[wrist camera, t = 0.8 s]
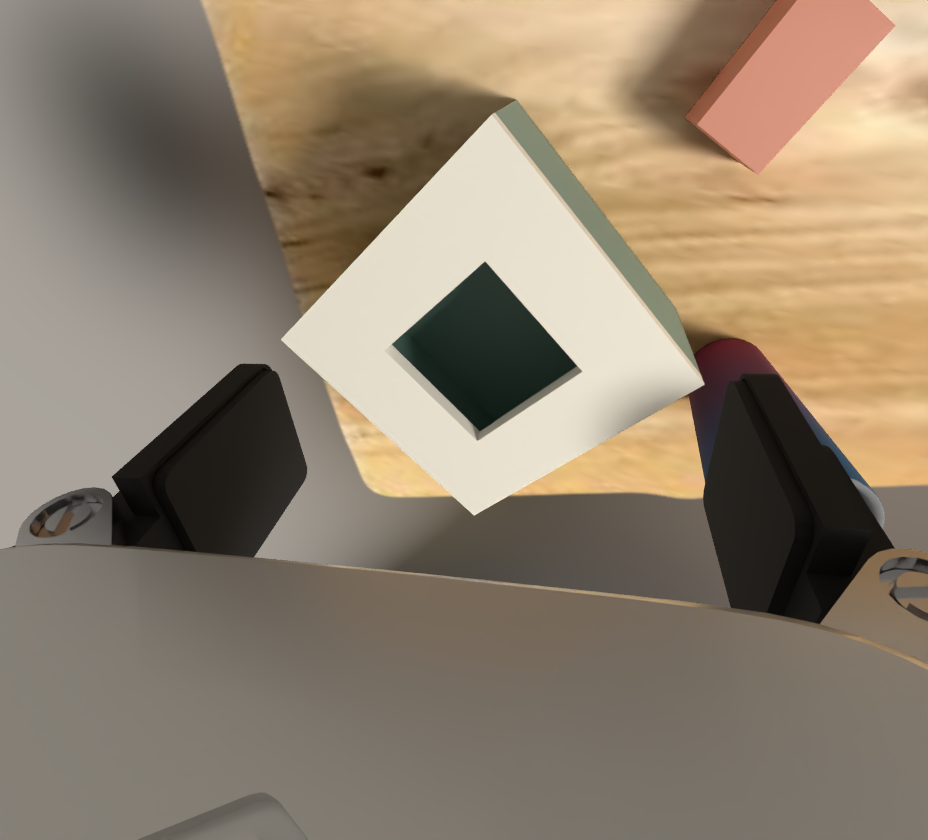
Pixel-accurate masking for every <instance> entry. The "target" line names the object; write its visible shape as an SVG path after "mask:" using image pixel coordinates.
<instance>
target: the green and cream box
mask: <svg viewBox="0 0 928 840" xmlns="http://www.w3.org/2000/svg"><path fill="white" fill-rule="evenodd" d="M281 340H282V341H283V342H284V343H285V344H286V345H287V346H288V347H289V348H291V350H293V351H294V352H295V353H296V354H297V355H298V356H299V357H300V358H301V359H303V360H304V361H305V362H306V363H307V364H308V365H309V366H310V367H311V368H312V369H314V370H315V371H316V372H317V373H318V374H319V375H320V376H321V377H322V378H323V379H324V380H326V381H327V382H328V383H329V384H330V385H331V386H332V387H333V388H334V389H335V390H337V391H338V392H339V393H340V394H341V395H342V396H343V397H344V398H345V399H346V400H348V401H349V402H350V403H351V404H352V405H353V406H354V407H355V408H356V409H358V410H359V411H360V412H361V413H362V414H363V415H364V416H365V417H366V418H367V419H369V420H370V421H371V422H372V423H373V424H374V425H375V426H376V427H377V428H378V429H380V430H381V431H382V432H383V433H384V434H385V435H386V436H387V437H388V438H389V439H391V440H392V441H393V442H394V443H395V444H396V445H397V446H398V447H399V448H400V449H402V450H403V451H404V452H405V453H406V454H407V455H408V456H409V457H410V458H411V459H413V460H414V461H415V462H416V463H417V464H418V465H419V466H420V467H421V468H422V469H424V470H425V471H426V472H427V473H428V474H429V475H430V476H431V477H432V478H433V479H435V480H436V481H437V482H438V483H439V484H440V485H441V486H442V487H443V488H444V489H446V490H447V491H448V492H449V493H450V494H451V495H452V496H453V497H454V498H456V499H457V500H458V501H459V502H460V503H461V504H462V505H463V506H464V507H466V509H468V510H469V511H470V512H471V513H472V514H473V515H476V514H477V513H479V512H481V511H483V510H484V509H486V508H488V507H490V506H491V505H493V504H495V503H497V502H499V501H500V500H502V499H504V498H506V497H507V496H509V495H511V494H513V493H514V492H516V491H518V490H520V489H521V488H523V487H525V486H527V485H528V484H530V483H532V482H534V481H536V480H537V479H539V478H541V477H543V476H544V475H546V474H548V473H550V472H551V471H553V470H555V469H557V468H558V467H560V466H562V465H564V464H566V463H567V462H569V461H571V460H573V459H574V458H576V457H578V456H580V455H581V454H583V453H585V452H587V451H588V450H590V449H592V448H594V447H596V446H597V445H599V444H601V443H603V442H604V441H606V440H608V439H610V438H611V437H613V436H615V435H617V434H618V433H620V432H622V431H624V430H625V429H627V428H629V427H631V426H633V425H634V424H636V423H638V422H640V421H641V420H643V419H645V418H647V417H648V416H650V415H652V414H654V413H655V412H657V411H659V410H661V409H663V408H664V407H666V406H668V405H670V404H671V403H673V402H675V401H677V400H678V399H680V398H682V397H684V396H685V395H687V394H689V393H691V392H693V391H694V390H696V389H698V388H700V387H701V386H703V385H705V384H704V381H703V379H702V376H701V373H700V371H699V368H698V366H697V363H696V360H695V358H694V355H693V352H692V350H691V347H690V344H689V342H688V339H687V336H686V334H685V331H684V328H683V326H682V323H681V320H680V318H679V315H678V313H677V310H676V308H675V306H674V305H673V304H672V302H671V301H670V300H669V299H668V297H667V296H666V295H665V293H664V292H663V291H662V289H661V288H660V287H659V285H658V284H657V283H656V281H655V280H654V279H653V278H652V276H651V275H650V274H649V272H648V271H647V270H646V268H645V267H644V266H643V264H642V263H641V262H640V261H639V259H638V258H637V257H636V255H635V254H634V253H633V251H632V250H631V249H630V247H629V246H628V245H627V244H626V242H625V241H624V240H623V238H622V237H621V236H620V234H619V233H618V232H617V230H616V229H615V228H614V227H613V225H612V224H611V223H610V221H609V220H608V219H607V217H606V216H605V215H604V213H603V212H602V211H601V210H600V208H599V207H598V206H597V204H596V203H595V202H594V200H593V199H592V198H591V196H590V195H589V194H588V193H587V191H586V190H585V189H584V187H583V186H582V185H581V183H580V182H579V181H578V179H577V178H576V177H575V175H574V174H573V173H572V172H571V170H570V169H569V168H568V166H567V165H566V164H565V162H564V161H563V160H562V158H561V157H560V156H559V155H558V153H557V152H556V151H555V149H554V148H553V147H552V145H551V144H550V143H549V141H548V140H547V139H546V138H545V136H544V135H543V134H542V132H541V131H540V130H539V128H538V127H537V126H536V124H535V123H534V122H533V121H532V119H531V118H530V117H529V115H528V114H527V113H526V111H525V110H524V109H523V107H522V106H521V105H520V104H519V102H518V101H517V100H515V101H513V102H512V103H510V104H508V105H507V106H505V107H503V108H502V109H500V110H498V111H497V112H495V113H493V114H492V115H491V116H490V117H489V118H488V119H487V120H486V121H485V122H484V123H483V124H482V125H481V126H480V127H479V128H478V130H477V131H476V132H475V133H474V134H473V135H472V136H471V137H470V138H469V139H468V140H467V141H466V142H465V143H464V145H463V146H462V147H461V148H460V149H459V150H458V151H457V152H456V153H455V154H454V155H453V156H452V157H451V158H450V159H449V161H448V162H447V163H446V164H445V165H444V166H443V167H442V168H441V169H440V170H439V171H438V172H437V173H436V174H435V175H434V177H433V178H432V179H431V180H430V181H429V182H428V183H427V184H426V185H425V186H424V187H423V188H422V189H421V190H420V191H419V193H418V194H417V195H416V196H415V197H414V198H413V199H412V200H411V201H410V202H409V203H408V204H407V205H406V206H405V208H404V209H403V210H402V211H401V212H400V213H399V214H398V215H397V216H396V217H395V218H394V219H393V220H392V221H391V222H390V224H389V225H388V226H387V227H386V228H385V229H384V230H383V231H382V232H381V233H380V234H379V235H378V236H377V237H376V238H375V240H374V241H373V242H372V243H371V244H370V245H369V246H368V247H367V248H366V249H365V250H364V251H363V252H362V253H361V254H360V256H359V257H358V258H357V259H356V260H355V261H354V262H353V263H352V264H351V265H350V266H349V267H348V268H347V269H346V271H345V272H344V273H343V274H342V275H341V276H340V277H339V278H338V279H337V280H336V281H335V282H334V283H333V284H332V285H331V287H330V288H329V289H328V290H327V291H326V292H325V293H324V294H323V295H322V296H321V297H320V298H319V299H318V300H317V301H316V303H315V304H314V305H313V306H312V307H311V308H310V309H309V310H308V311H307V312H306V313H305V314H304V315H303V316H302V318H301V319H300V320H299V321H298V322H297V323H296V324H295V325H294V326H293V327H292V328H291V329H290V330H289V332H287V334H286V335H285V336H284V337H283V338H282V339H281Z"/></svg>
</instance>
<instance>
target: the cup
mask: <svg viewBox="0 0 928 840" xmlns="http://www.w3.org/2000/svg"><path fill="white" fill-rule="evenodd" d="M694 358H695V360H696V363H697V366H698V368H699V371H700V373H701V376H702V379H703V381H704V384H705V385H703V386H701V387H700V388H698V389H696V390H694V391H693V392H691V393H689V399H690V404H691V410H692V415H693V420H694V425H695V431H696V436H697V441H698V447H699V452H700V457H701V462H702V468H703V473H704V478H705V483H706V478H707V474H708V470H709V465H710V461H711V456H712V452H713V447H714V443H715V439H716V434H717V430H718V425H719V421H720V416H721V412H722V408H723V403H724V399H725V394H726V390H727V386H728V384H729V382H730V381H739V378H740V376H741V375H742V374H743V373H751V374H777V375H778V376H779V377H780V378H781V380H782V381H783V383H784V385H785V386H786V388H787V390H788V391H789V393H790V395H791V396H792V398H793V399H794V401H795V403H796V404H797V406H798V408H799V409H800V411H801V413H802V414H803V416H804V417H805V419H806V421H807V422H808V424H809V426H810V427H811V429H812V431H813V432H814V434H815V435H816V437H817V439H818V440H819V442H820V444H821V445H826V446H829V447H830V448H831V449H832V451H833V452H834V453H835V455H836V456H837V458H838V460H839V461H840V463H841V464H842V466H843V467H844V469H845V471H846V472H847V474H848V475H849V477H850V478H851V480H852V482H853V483H854V485H855V486H856V488H857V490H858V491H859V493H860V494H861V496H862V497H863V499H864V501H865V502H866V504H867V505H868V507H869V509H870V510H871V512H872V513H873V515H874V516H875V518H876V520H877V521H878V523H879V524H880V526H881V527H882V529H883V525H884V519H885V516H884V510H883V506H882V504H881V502H880V500H879V498H878V496H877V495H876V494H875V493H874V491H873V490H872V489H871V488H870V486H869V485H868V484H867V483H866V481H865V480H864V479H863V478H862V476H861V475H860V474H859V473H858V471H857V470H856V469H855V468H854V466H853V465H852V464H851V463H850V462H849V460H848V459H847V458H846V457H845V455H844V454H843V453H842V452H841V450H840V449H839V448H838V447H837V445H836V444H835V443H834V442H833V440H832V439H831V438H830V437H829V435H828V434H827V433H826V432H825V431H824V429H823V428H822V427H821V426H820V424H819V423H818V422H817V421H816V419H815V418H814V417H813V416H812V414H811V413H810V412H809V411H808V409H807V408H806V407H805V406H804V405H803V403H802V402H801V401H800V400H799V398H798V397H797V396H796V395H795V393H794V392H793V391H792V390H791V388H790V387H789V386H788V385H787V383H786V382H785V381H784V380H783V378H782V377H781V376H780V375H779V374H778V372H777V371H776V370H775V369H774V367H773V366H772V365H771V364H770V362H769V361H768V360H767V359H766V357H765V356H764V355H763V354H762V352H761V351H760V350H759V349H758V348H757V347H756V346H754V345H753V344H751V343H749V342H746V341H744V340H739V339H725V340H719V341H716V342H713V343H711V344H709V345H707V346H705V347H703V348H702V349H701V350H699V351H698V352H697V353H696V354H695V355H694Z"/></svg>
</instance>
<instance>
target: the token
mask: <svg viewBox="0 0 928 840" xmlns="http://www.w3.org/2000/svg"><path fill="white" fill-rule="evenodd" d="M894 27H895V25H894V24H893V23H892V22H891V21H890V20H889V19H888V18H887V17H886V16H885V15H884V14H883V13H882V12H881V11H880V10H879V9H878V8H876V7H875V6H874V5H873V4H872V3H871V2H870V1H869V0H777V1H776V2H775V3H774V4H773V6H772V7H771V8H770V9H769V11H768V12H767V13H766V15H765V16H764V17H763V18H762V20H761V21H760V22H759V24H758V25H757V26H756V27H755V29H754V30H753V31H752V32H751V34H750V35H749V36H748V38H747V39H746V40H745V41H744V43H743V44H742V45H741V46H740V48H739V49H738V50H737V52H736V53H735V54H734V55H733V57H732V58H731V59H730V60H729V62H728V63H727V64H726V66H725V67H724V68H723V69H722V71H721V72H720V73H719V74H718V76H717V77H716V78H715V80H714V81H713V82H712V83H711V85H710V86H709V87H708V89H707V90H706V91H705V92H704V94H703V95H702V96H701V97H700V99H699V100H698V101H697V103H696V104H695V105H694V106H693V108H692V109H691V110H690V111H689V113H688V114H687V115H686V117H685V118H686V119H687V120H688V121H689V122H691V123H692V124H693V125H694V126H695V127H697V128H698V129H699V130H700V131H702V132H703V133H704V134H705V135H706V136H708V137H709V138H710V139H711V140H712V141H714V142H715V143H716V144H717V145H719V146H720V147H721V148H722V149H723V150H725V151H726V152H727V153H728V154H729V155H731V156H732V157H733V158H734V159H736V160H737V161H738V162H739V163H741V164H742V165H744V166H745V167H747V168H748V169H750V170H752V171H753V172H755V173H756V174H759V173H760V172H761V171H762V170H763V169H764V168H765V166H766V165H767V164H768V163H769V162H770V161H771V160H772V159H773V158H774V157H775V156H776V154H777V153H778V152H779V151H780V150H781V149H782V148H783V147H784V146H785V145H786V144H787V143H788V141H789V140H790V139H791V138H792V137H793V136H794V135H795V134H796V133H797V132H798V131H799V130H800V128H801V127H802V126H803V125H804V124H805V123H806V122H807V121H808V120H809V119H810V118H811V117H812V115H813V114H814V113H815V112H816V111H817V110H818V109H819V108H820V107H821V106H822V105H823V104H824V102H825V101H826V100H827V99H828V98H829V97H830V96H831V95H832V94H833V93H834V92H835V90H836V89H837V88H838V87H839V86H840V85H841V84H842V83H843V82H844V81H845V80H846V79H847V77H848V76H849V75H850V74H851V73H852V72H853V71H854V70H855V69H856V68H857V67H858V66H859V64H860V63H861V62H862V61H863V60H864V59H865V58H866V57H867V56H868V55H869V54H870V53H871V51H872V50H873V49H874V48H875V47H876V46H877V45H878V44H879V43H880V42H881V41H882V40H883V38H884V37H885V36H886V35H887V34H888V33H889V32H890V31H891V30H892V29H893V28H894Z"/></svg>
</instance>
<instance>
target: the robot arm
mask: <svg viewBox="0 0 928 840" xmlns="http://www.w3.org/2000/svg"><path fill="white" fill-rule="evenodd" d="M306 475H307V466H306V462H305V459H304V455H303V452H302V449H301V446H300V443H299V439H298V436H297V433H296V429H295V426H294V423H293V420H292V417H291V413H290V410H289V407H288V404H287V401H286V397H285V394H284V391H283V387H282V385H281V381H280V378H279V376H278V374H277V373H276V372H275V371H272V369H271V368H270V367H269V366H268V365H266V364H240V365H238V366H236V367H235V368H234V369H233V370H232V371H231V372H230V373H229V374H227V375H226V376H225V377H224V378H223V379H222V380H221V381H219V382H218V383H217V384H216V385H215V386H214V387H213V388H212V389H211V390H209V391H208V392H207V393H206V394H205V395H204V396H203V397H201V398H200V399H199V400H198V401H197V402H196V403H195V404H193V405H192V406H191V407H190V408H189V409H188V410H187V411H186V412H184V413H183V414H182V415H181V416H180V417H179V418H178V419H176V421H174V422H173V423H172V424H171V425H170V426H169V427H167V428H166V429H165V430H164V431H163V432H162V433H161V434H160V435H158V437H156V438H155V439H154V440H153V441H152V442H150V443H149V444H148V445H147V446H146V447H145V448H144V449H143V450H141V451H140V452H139V453H138V454H137V455H136V456H135V457H134V458H132V459H131V460H130V461H129V462H128V463H127V464H126V465H124V466H123V467H122V468H121V469H120V470H119V471H118V472H117V473H116V474H114V475H113V476H112V478H113V480H114V482H115V483H116V485H117V487H118V489H119V490H120V491H119V492H118V493H117V494H116V495H115V496H114V497H112V495H111V493H110V492H108V491H107V490H105V489H102V488H95V487H94V488H83V489H79V490H75V491H71V492H68V493H66V494H63V495H61V496H58V497H56V498H54V499H52V500H51V501H49V502H47V503H45V504H43V505H42V506H41V507H39V508H38V509H37V510H35V511H34V512H33V513H31V514H30V515H29V516H28V518H27V519H26V520H25V521H24V522H23V523H22V525H21V528H20V530H19V533H18V537H17V541H16V545H15V546H13V547H9V548H4V549H0V840H928V553H927V552H922V551H917V550H912V549H895V548H894V547H893V545H892V543H891V542H890V540H889V539H888V537H887V535H886V534H885V532H884V531H883V529H882V527H881V526H880V524H879V523H878V521H877V520H876V518H875V516H874V515H873V513H872V512H871V510H870V509H869V507H868V505H867V504H866V502H865V501H864V499H863V497H862V496H861V494H860V493H859V491H858V490H857V488H856V486H855V485H854V483H853V482H852V480H851V478H850V477H849V475H848V474H847V472H846V471H845V469H844V467H843V466H842V464H841V463H840V461H839V460H838V458H837V456H836V455H835V453H834V452H833V451H832V449H831V448H830V447H829V446H826V445H821V444H820V442H819V440H818V439H817V437H816V435H815V434H814V432H813V431H812V429H811V427H810V426H809V424H808V422H807V421H806V419H805V417H804V416H803V414H802V413H801V411H800V409H799V408H798V406H797V404H796V403H795V401H794V399H793V398H792V396H791V395H790V393H789V391H788V390H787V388H786V386H785V385H784V383H783V381H782V380H781V378H780V377H779V376H778V375H777V374H751V373H743V374H742V375H741V376H740V378H739V381H730V382H729V384H728V386H727V390H726V394H725V399H724V403H723V408H722V412H721V416H720V421H719V425H718V430H717V434H716V439H715V443H714V447H713V452H712V456H711V461H710V465H709V470H708V474H707V478H706V483H705V487H704V495H703V501H704V508H705V512H706V516H707V520H708V523H709V527H710V531H711V534H712V538H713V542H714V546H715V549H716V553H717V557H718V561H719V565H720V568H721V572H722V576H723V579H724V583H725V587H726V591H727V595H728V598H729V602H730V606H731V608H728V607H720V606H713V605H706V604H699V603H692V602H684V601H676V600H665V599H656V598H647V597H638V596H629V595H620V594H611V593H602V592H592V591H582V590H573V589H564V588H553V587H545V586H534V585H526V584H516V583H507V582H496V581H487V580H478V579H469V578H458V577H449V576H439V575H429V574H418V573H409V572H398V571H389V570H379V569H369V568H359V567H349V566H337V565H328V564H318V563H308V562H297V561H286V560H276V559H265V558H254V556H255V555H256V553H257V552H258V550H259V549H260V547H261V546H262V544H263V543H264V541H265V540H266V538H267V537H268V535H269V534H270V532H271V530H272V529H273V528H274V526H275V525H276V523H277V521H278V520H279V518H280V517H281V515H282V514H283V512H284V511H285V509H286V508H287V506H288V505H289V503H290V502H291V500H292V499H293V497H294V496H295V494H296V493H297V491H298V490H299V488H300V487H301V485H302V484H303V482H304V480H305V478H306Z"/></svg>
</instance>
